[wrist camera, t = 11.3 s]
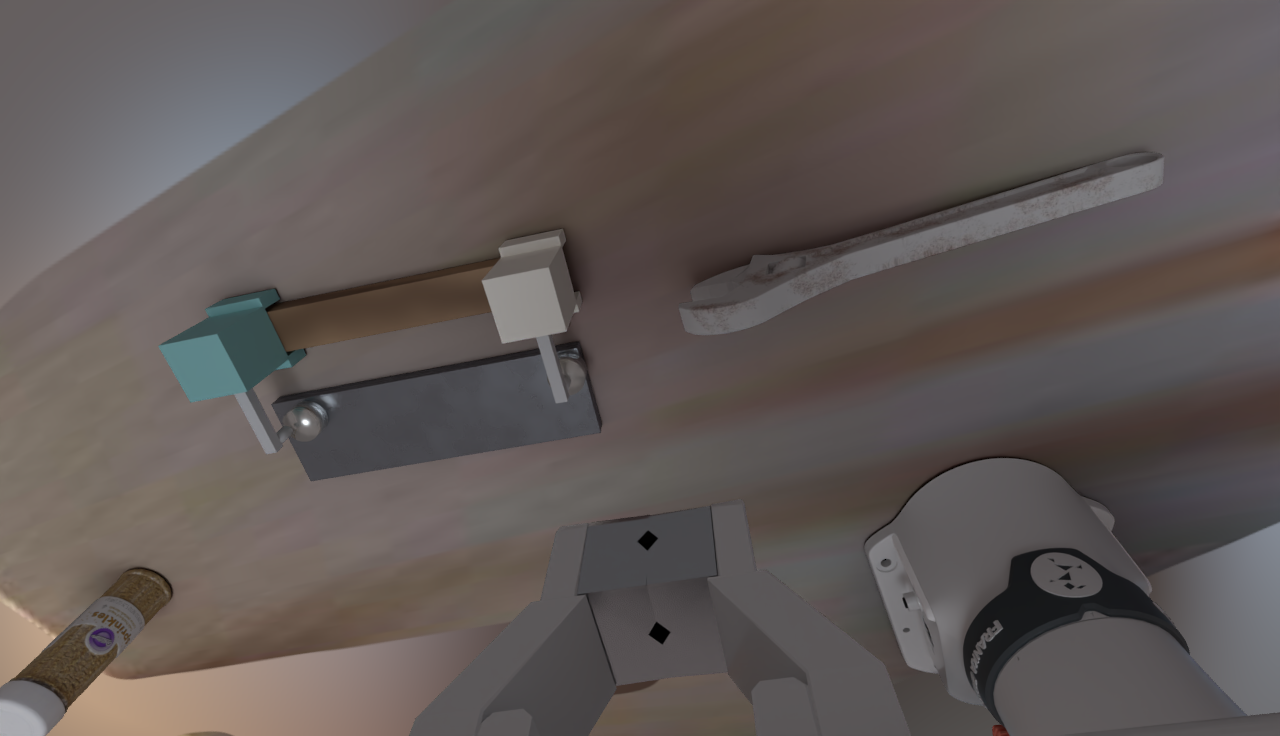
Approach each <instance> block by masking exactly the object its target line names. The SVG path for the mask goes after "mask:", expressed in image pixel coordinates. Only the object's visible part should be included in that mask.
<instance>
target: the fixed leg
mask: <svg viewBox="0 0 1280 736" xmlns="http://www.w3.org/2000/svg"><path fill="white" fill-rule="evenodd" d="M565 242H566V238H565V234H564V230H563V229H559V230H554V231H549V232H544V233H540V234H535V235H530V236H525V237H520V238H516V239H511V240H506V241H505V242H504V243H503V244H502V245H501V246H500V247H499V248H498V249H499V252H500V255H501V258H500V259H499V261H498V262H497V263H496V264H495V265H494V267H493V268H492V269H491V270H490V271H489V273H488V274H487V275H486V276H485V277H484V278H483V280H482V283H483V286H484V289H485V292H486V295H487V299H488V302H489V305H490V308H491V311H492V314H493V317H494V320H495V323H496V326H497V329H498V332H499V335H500V338H501V341H502V344H503V343H508V342H514V341H519V340H524V339H530V338H535V337H536V339H537V343H538V346H539V349H540V353H541V356H542V359H543V362H544V366H545V369H546V372H547V376H548V379H549V382H550V385H551V389H552V392H553V395H554V399H555V402H556V403H562V402H567V401H568V399H569V393H568V391H569V388H570V384H571V379H570V377H568V376H563V372H562V369H561V365H560V362H559V358H558V355H557V352H556V348H555V345H554V341H553V338H552V334H556V333H562V332H567V329H568V327H569V324H570V321H571V318H572V315H573V313H576V312H579V311H580V308H581V305H582V298H581V294H580V291H578V292H574V290H573V286H572V283H571V279H570V275H569V271H568V268H567V264H566V260H565V257H564V253H563V249H562V247H563V245H564V243H565Z"/></svg>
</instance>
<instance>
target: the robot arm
mask: <svg viewBox="0 0 1280 736" xmlns="http://www.w3.org/2000/svg"><path fill="white" fill-rule="evenodd" d="M1114 523H1115V520H1114V517H1113V515H1112V514H1111V513H1110V511H1109V510H1108V509H1107V508H1106V507H1105V506H1104V505H1102V504H1101V503H1098V502H1096V501H1094V500H1091V499H1088V498H1086V497H1083V496H1080V495H1079V494H1078V493H1076V492H1075V491H1074V490H1073V489H1072V487H1071V486H1070V485H1069V484H1068V483H1067V482H1066V481H1065V480H1064V479H1063V478H1062V477H1061V476H1060V475H1059V474H1057V473H1056V472H1055V471H1053V470H1051V469H1049V468H1048V467H1046V466H1043V465H1041V464H1038V463H1035V462H1032V461H1028V460H1022V459H1014V458H995V459H986V460H980V461H976V462H971V463H968V464H965V465H962V466H959V467H956V468H954V469H952V470H949V471H947V472H945V473H943V474H942V475H940V476H938V477H936V478H935V479H933V480H932V481H930V482H929V483H927V484H926V485H925V486H924V487H922V488H921V489H920V490H919V491H918V492H917V493H916V494H915V495H914V496H913V497H912V498H911V499H910V500H909V501H908V503H907V504H906V505H905V507H904V508H903V509H902V511H901V512H900V514H899V515H898V516H897V517H896V519H895V520H894V521H893V522H892V523H890V524H889V525H887V526H886V527H884V528H883V529H881V530H880V531H878V532H877V533H875V534H874V535H873V536H872V537H870V538H869V539H868V540H867V542H866V543H865V546H864V550H865V553H866V556H867V559H868V562H869V565H870V567H871V570H872V573H873V576H874V579H875V581H876V584H877V587H878V590H879V593H880V596H881V598H882V601H883V604H884V607H885V610H886V612H887V615H888V618H889V621H890V624H891V626H892V629H893V632H894V635H895V638H896V640H897V643H898V646H899V649H900V651H901V654H902V656H903V658H904V660H905V662H906V664H907V665H908V666H909V667H911V668H914V669H917V670H920V671H924V672H929V673H936V674H939V675H940V678H941V680H942V682H943V684H944V686H945V688H946V690H947V691H948V693H949V694H950V695H951V696H953V697H954V698H956V699H958V700H960V701H963V702H966V703H970V704H974V705H983V706H984V707H985V708H987V709H988V710H989V711H990V713H991V714H992V715H993V717H994V718H995V719H996V720H997V721H998V722H999V723H1000V724H1001V725H994V726H993V729H992V731H993V736H1280V713H1270V714H1262V715H1261V714H1260V715H1251V716H1247V715H1246V714H1245V713H1244V712H1243V711H1242V710H1241V709H1240V708H1239V707H1238V706H1237V705H1236V704H1235V703H1234V702H1233V701H1232V700H1231V698H1230V697H1229V696H1228V695H1227V694H1226V693H1225V692H1224V691H1222V689H1221V688H1220V687H1219V686H1218V685H1217V684H1216V683H1215V682H1214V681H1213V680H1212V679H1211V678H1210V677H1209V676H1208V674H1206V672H1204V670H1203V669H1202V668H1201V667H1200V666H1199V665H1198V664H1197V663H1196V662H1195V661H1194V659H1193V658H1192V657H1191V656H1190V653H1189V648H1188V646H1187V643H1186V641H1185V639H1184V638H1183V637H1182V635H1181V634H1180V632H1179V631H1178V630H1177V629H1176V627H1175V626H1174V623H1173V622H1172V621H1171V619H1170V618H1169V617H1168V616H1167V614H1166V613H1165V612H1164V611H1163V610H1162V608H1161V607H1159V606H1158V604H1156V603H1155V602H1153V601H1152V600H1151V599H1150V598H1149V596H1150V593H1151V592H1152V587H1151V584H1150V582H1149V580H1148V579H1147V577H1146V576H1145V575H1144V573H1143V572H1142V571H1141V570H1140V568H1139V567H1138V566H1137V564H1136V563H1135V562H1134V560H1133V559H1132V558H1131V557H1130V555H1129V554H1128V553H1127V551H1126V550H1125V549H1124V548H1123V546H1122V545H1121V544H1120V543H1119V541H1118V540H1117V539H1116V537H1115V536H1114V535H1113V534H1112V529H1113V526H1114ZM884 559H887V560H885V561H882V560H884ZM726 672H728V675H729V676H730V678H731V679H732V680H733V681H734V683H735V684H736V685H737V686H738V688H739V689H740V690H741V691H742V693H743V694H744V695H745V696H746V698H747V699H748V700H749V701H750V703H751V704H752V705H753V710H754V718H755V726H756V734H757V736H911V734H910V731H909V728H908V726H907V723H906V720H905V718H904V715H903V712H902V709H901V707H900V704H899V701H898V699H897V696H896V693H895V691H894V688H893V685H892V682H891V680H890V677H889V674H888V672H887V669H886V666H885V664H884V663H883V662H881V661H880V660H879V659H878V658H876V657H875V656H874V655H873V654H871V653H870V652H869V651H868V650H866V649H865V648H864V647H863V646H861V645H860V644H859V643H858V642H856V641H855V640H854V639H853V638H851V637H850V636H849V635H848V634H846V633H845V632H844V631H843V630H841V629H840V628H839V627H837V626H836V625H835V624H834V623H832V622H831V621H830V620H829V619H827V618H826V617H825V616H824V615H822V614H821V613H820V612H819V611H817V610H816V609H815V608H814V607H812V606H811V605H810V604H809V603H807V602H806V601H805V600H804V599H802V598H801V597H800V596H799V595H797V594H796V593H795V592H794V591H792V590H791V589H790V588H789V587H787V586H786V585H785V584H784V583H782V582H781V581H780V580H779V579H777V578H776V577H775V576H774V575H772V574H771V573H770V572H769V571H767V570H761V571H757V569H756V563H755V558H754V553H753V547H752V542H751V536H750V531H749V526H748V520H747V515H746V510H745V504H744V502H743V500H742V499H739V500H734V501H728V502H723V503H717V504H712V505H711V506H706V507H700V508H693V509H687V510H680V511H674V512H667V513H661V514H654V515H644V516H636V517H628V518H620V519H612V520H605V521H597V522H591V523H583V524H576V525H569V526H562V527H560V528H559V529H558V531H557V532H556V535H555V539H554V543H553V548H552V552H551V556H550V561H549V565H548V569H547V574H546V578H545V582H544V587H543V591H542V595H541V599H540V601H536V602H531V603H530V604H529V605H528V606H527V607H526V608H525V609H524V610H523V611H522V612H521V613H520V614H519V615H518V616H517V617H516V618H515V619H514V620H513V621H512V622H511V623H510V624H509V625H508V626H507V627H506V628H505V629H504V630H503V631H502V632H501V633H500V634H499V635H498V636H497V637H496V638H495V639H494V640H493V641H492V642H491V643H490V644H489V645H488V646H487V647H486V648H485V649H484V650H483V651H482V652H481V653H480V654H479V655H478V656H477V657H476V658H475V659H474V660H473V661H472V662H471V663H470V664H469V665H468V666H467V667H466V668H465V669H464V670H463V671H462V672H461V674H459V675H458V676H457V677H456V678H455V679H454V680H453V681H452V682H451V683H450V684H449V685H448V686H447V688H445V690H444V691H442V692H441V693H440V694H439V695H438V696H437V697H436V698H435V699H434V701H432V702H431V704H429V705H428V707H427V708H425V710H424V711H423V712H422V713H421V714H420V715H419V716H418V717H417V718H416V719H415V721H414V724H413V727H412V729H411V732H410V734H409V736H588V735H589V733H590V732H591V730H592V728H593V727H594V725H595V724H596V722H597V720H598V719H599V717H600V715H601V714H602V712H603V710H604V709H605V707H606V705H607V704H608V702H609V701H610V699H611V697H612V696H613V694H614V692H615V691H616V686H617V685H623V684H630V683H637V682H643V681H651V680H657V679H664V678H671V677H682V676H693V675H704V674H715V673H726Z"/></svg>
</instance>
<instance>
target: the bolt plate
mask: <svg viewBox="0 0 1280 736" xmlns="http://www.w3.org/2000/svg"><path fill="white" fill-rule="evenodd" d="M555 348H556V352H557V355H558V358H559V362H560V365H561V369H562V372H563V376H568V377H570V379H571V384H570V388H569V391H568V393H569V399H568V401H567V402H562V403H556V402H555V399H554V395H553V392H552V389H551V385H550V382H549V379H548V376H547V372H546V369H545V366H544V362H543V359H542V356H541V353H540V349H535V350H529V351H524V352H519V353H513V354H508V355H503V356H497V357H492V358H486V359H481V360H476V361H470V362H465V363H460V364H454V365H449V366H443V367H438V368H433V369H427V370H422V371H417V372H411V373H406V374H400V375H395V376H390V377H384V378H379V379H374V380H368V381H363V382H357V383H352V384H347V385H341V386H336V387H331V388H325V389H320V390H314V391H309V392H304V393H298V394H293V395H288V396H282V397H279V398H278V399H277V400H276V401H275V402H274V403H272V404H271V405H272V407H273V409H274V411H275V413H276V414H277V416H278V418H279V420H280V422H281V424H282V426H289V427H291V428H292V430H293V433H292V435H291V436H290V437H289V440H290V442H291V444H292V446H293V447H294V449H295V451H296V453H297V455H298V457H299V459H300V461H301V463H302V465H303V467H304V469H305V471H306V473H307V475H308V477H309V479H310V480H311V481H316V480H321V479H327V478H333V477H339V476H345V475H351V474H357V473H363V472H369V471H375V470H381V469H387V468H393V467H399V466H405V465H411V464H417V463H423V462H429V461H435V460H441V459H447V458H452V457H458V456H464V455H470V454H476V453H482V452H488V451H494V450H500V449H506V448H512V447H518V446H524V445H530V444H536V443H542V442H548V441H554V440H560V439H566V438H572V437H578V436H583V435H589V434H595V433H601V427H602V423H601V419H600V415H599V412H598V408H597V404H596V401H595V397H594V393H593V390H592V386H591V382H590V379H589V375H588V371H587V366H586V363H585V360H584V357H583V353H582V350H581V346H580V342H579V341H578V342H572V343H567V344H562V345H556V346H555Z"/></svg>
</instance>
